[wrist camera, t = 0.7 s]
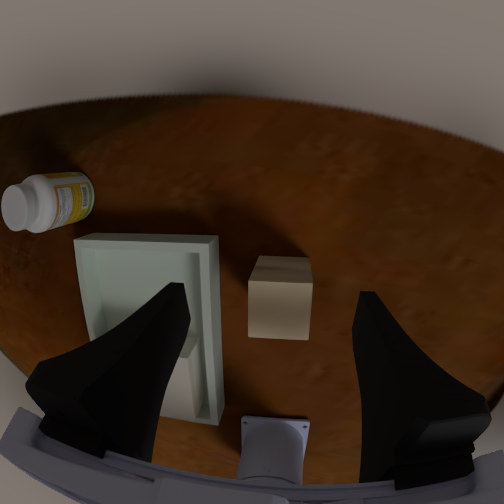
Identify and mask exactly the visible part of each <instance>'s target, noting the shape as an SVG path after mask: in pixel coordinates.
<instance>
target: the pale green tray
mask: <svg viewBox="0 0 504 504" xmlns="http://www.w3.org/2000/svg"><path fill="white" fill-rule="evenodd" d="M74 248H75V256H76V264H77V271H78V278H79V285H80V291H81V297H82V302H83V308H84V313H85V318H86V323H87V328H88V332H89V337H90V341H92V340H94V339H96V338H98V337H100V336H101V335H103V334H105V333H106V332H108V331H109V330H111V329H112V328H113V327H114V326H117V325H118V324H120V323H121V322H123V321H124V320H125V319H126V318H128V317H129V316H130V315H132V314H133V313H134V312H135V311H137V310H138V309H139V308H140V307H142V306H143V305H144V304H145V303H146V302H147V301H149V300H150V299H151V298H152V297H153V296H154V295H156V294H157V293H158V292H159V291H160V290H161V289H163V288H164V287H165V286H166V285H167V284H169V283H170V282H177V283H184V286H185V292H186V297H187V302H188V307H189V311H190V316H191V322H190V326H189V330H188V334H187V336H189V337H198V338H200V347H201V360H202V371H203V382H204V393H205V399H204V401H203V404H202V406H201V409H200V411H199V413H198V416H197V418H196V420H195V421H194V420H188V419H182V418H177V417H172V416H166V415H162V414H160V416H164V417H169V418H174V419H180V420H185V421H191V422H197V423H203V424H210V425H217V426H218V425H219V422H220V419H221V416H222V413H223V410H224V407H225V400H224V381H223V361H222V338H221V311H220V277H219V236H218V235H180V234H133V233H91V234H88V235H85V236H83V237H80V238H77V239H74Z"/></svg>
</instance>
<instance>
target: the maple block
mask: <svg viewBox="0 0 504 504" xmlns="http://www.w3.org/2000/svg"><path fill="white" fill-rule="evenodd" d="M312 288H313V281H312V274H311V267H310V260H309V258H308V257H282V256H259V258H258V260H257V262H256V265H255V267H254V269H253V271H252V274H251V276H250V278H249V280H248V337H258V338H274V339H294V340H308V337H309V326H310V314H311V301H312Z"/></svg>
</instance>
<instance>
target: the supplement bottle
mask: <svg viewBox="0 0 504 504" xmlns="http://www.w3.org/2000/svg"><path fill="white" fill-rule="evenodd" d="M93 203H94V189H93V186H92V184H91V182H90V180H89V179H88V178H87V177H86V176H85V175H84V174H82V173H79V172H65V173H50V174H38V175H32V176H29V177H27V178H26V179H25V180H24V181H23V182H22V183H21V184H17V185H11V186H9V187H8V188H7V189H6V190H5V192H4V194H3V197H2V203H1V210H2V215H3V219H4V221H5V223H6V225H7V226H8V227H9V228H10V229H11V230H13V231H20V230H24V229H27V230H28V231H30V232H33V233H40V232H44V231H47V230H50V229H53V228H57V227H60V226H63V225H67V224H70V223H74V222H77V221H80V220H82V219H84V218H85V217H87V216H88V214H89V213H90V212H91V210H92V207H93Z"/></svg>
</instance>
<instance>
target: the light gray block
mask: <svg viewBox="0 0 504 504" xmlns="http://www.w3.org/2000/svg"><path fill="white" fill-rule="evenodd" d="M114 327H116V326H114ZM114 327H113V328H114ZM113 328H112V329H113ZM204 399H205V393H204V382H203V371H202V360H201V347H200V338H198V337H189V336H187V337H186V340H185V343H184V345H183V348H182V350H181V353H180V355H179V358H178V360H177V363H176V365H175V368H174V370H173V372H172V375H171V377H170V380H169V383H168V385H167V388H166V392H165V396H164V399H163V403H162V407H161V411H160V414H162V415H166V416H172V417H177V418H182V419H188V420H194V421H195V420H196V418H197V416H198V413H199V411H200V409H201V406H202V404H203V401H204Z"/></svg>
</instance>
